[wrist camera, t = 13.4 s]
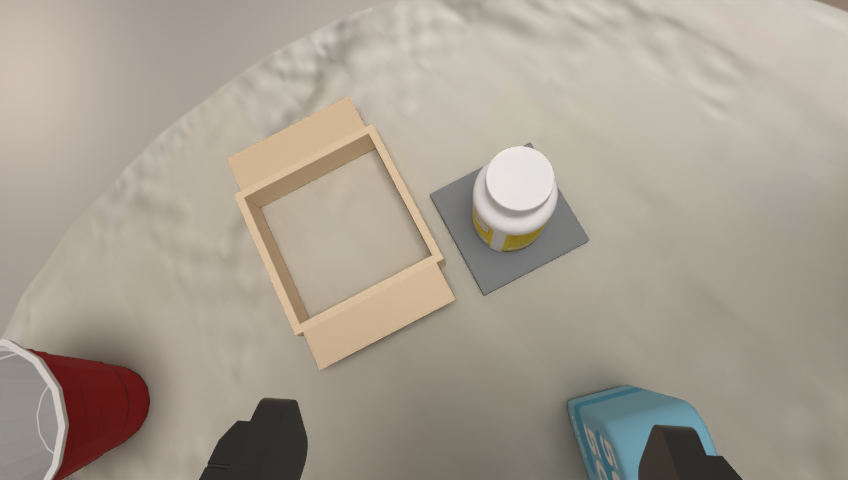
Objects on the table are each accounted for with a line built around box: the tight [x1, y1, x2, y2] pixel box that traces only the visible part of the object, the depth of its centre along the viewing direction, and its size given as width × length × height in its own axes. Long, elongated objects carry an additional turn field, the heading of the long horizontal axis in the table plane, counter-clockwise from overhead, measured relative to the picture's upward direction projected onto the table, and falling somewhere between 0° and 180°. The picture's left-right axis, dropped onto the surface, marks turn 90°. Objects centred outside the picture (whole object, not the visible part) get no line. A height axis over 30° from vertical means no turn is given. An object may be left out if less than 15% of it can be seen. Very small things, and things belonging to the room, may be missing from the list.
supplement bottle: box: [472, 146, 558, 253], centre depth 33 cm, size 5×5×10 cm
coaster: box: [430, 143, 589, 296], centre depth 38 cm, size 9×9×1 cm
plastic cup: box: [0, 339, 150, 480], centre depth 33 cm, size 11×11×12 cm
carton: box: [227, 96, 456, 370], centre depth 38 cm, size 12×18×3 cm, turn 27°
